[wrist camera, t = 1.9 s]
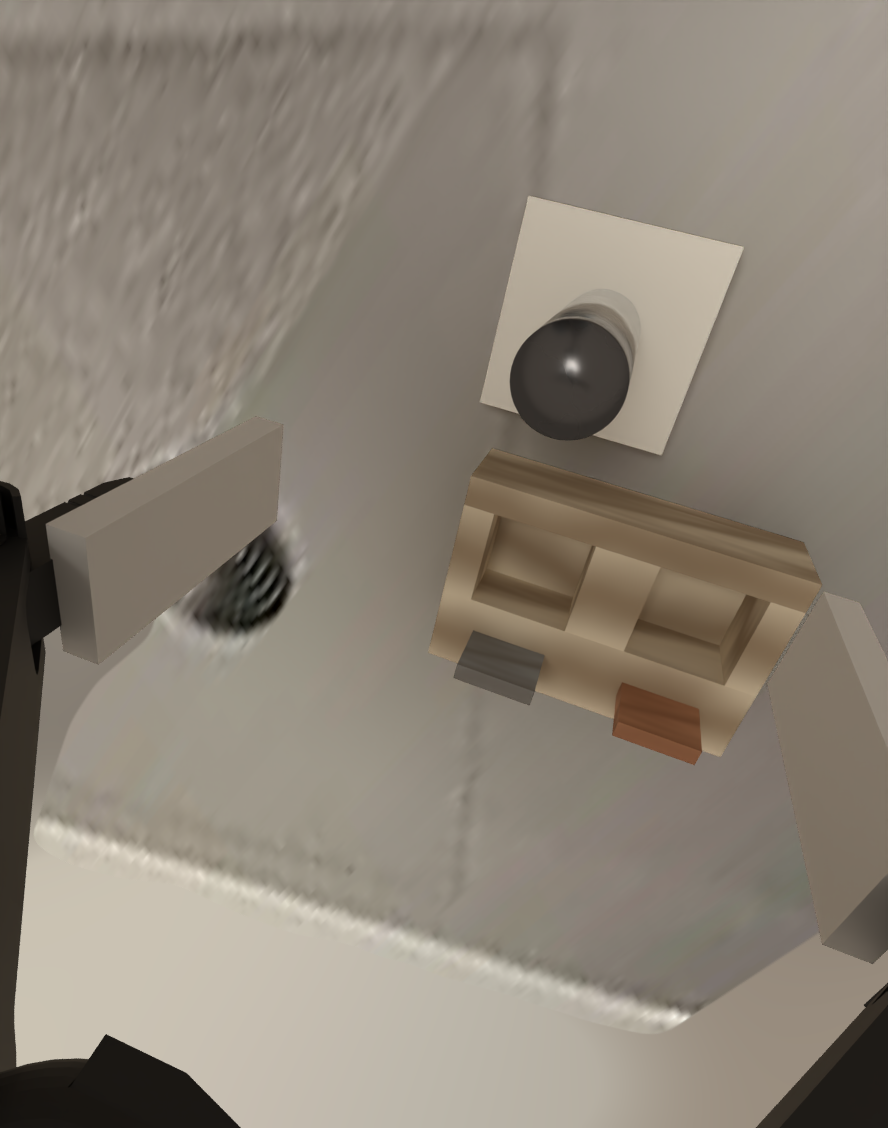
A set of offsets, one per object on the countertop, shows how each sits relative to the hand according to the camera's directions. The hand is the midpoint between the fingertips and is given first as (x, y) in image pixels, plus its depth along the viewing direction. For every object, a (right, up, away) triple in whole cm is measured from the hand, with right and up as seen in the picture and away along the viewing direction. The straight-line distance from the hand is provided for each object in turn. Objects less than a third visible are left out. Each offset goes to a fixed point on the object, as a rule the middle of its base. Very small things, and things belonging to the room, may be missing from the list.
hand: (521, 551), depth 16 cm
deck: (+6, +12, +18) cm, 23 cm away
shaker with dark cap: (+6, +11, +17) cm, 21 cm away
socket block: (+8, -1, +25) cm, 26 cm away
